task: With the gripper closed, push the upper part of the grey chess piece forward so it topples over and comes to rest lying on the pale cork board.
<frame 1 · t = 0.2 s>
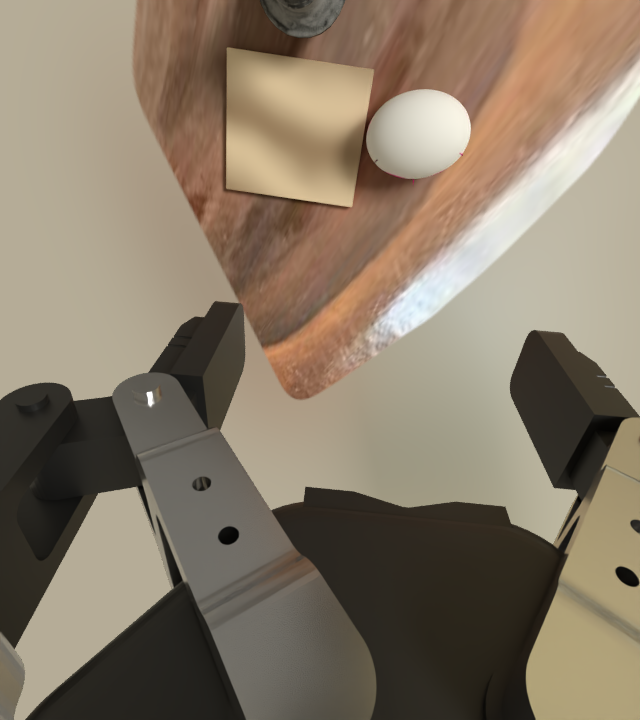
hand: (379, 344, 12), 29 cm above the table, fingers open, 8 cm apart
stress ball: (412, 140, 35), on the table
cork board: (295, 132, 35), on the table
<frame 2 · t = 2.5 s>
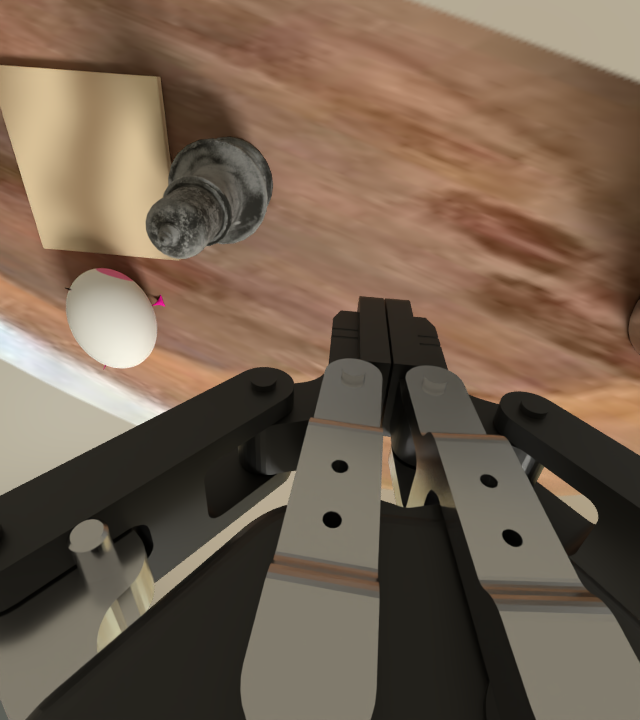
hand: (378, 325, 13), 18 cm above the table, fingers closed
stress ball: (125, 302, 34), on the table
grey chess piece: (233, 181, 28), on the table
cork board: (98, 170, 28), on the table
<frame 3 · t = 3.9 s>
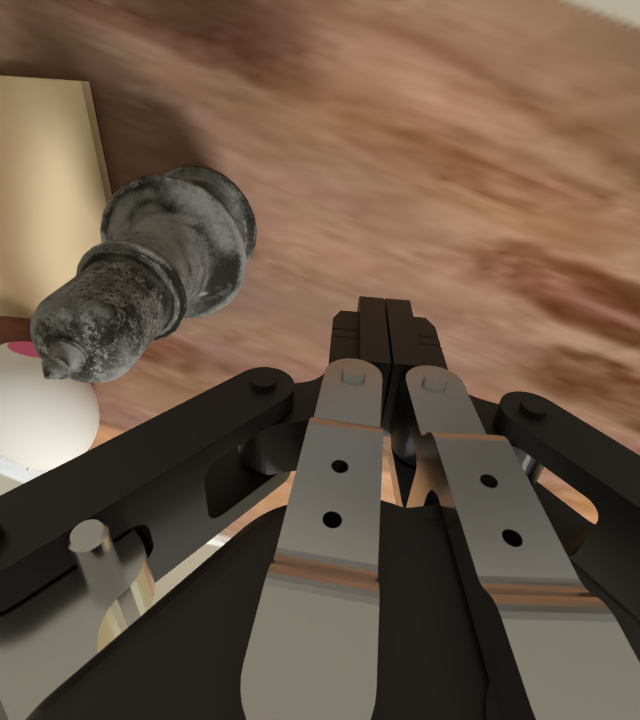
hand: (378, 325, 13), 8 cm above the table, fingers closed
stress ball: (60, 374, 26), on the table
grey chess piece: (202, 225, 20), on the table
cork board: (13, 211, 20), on the table
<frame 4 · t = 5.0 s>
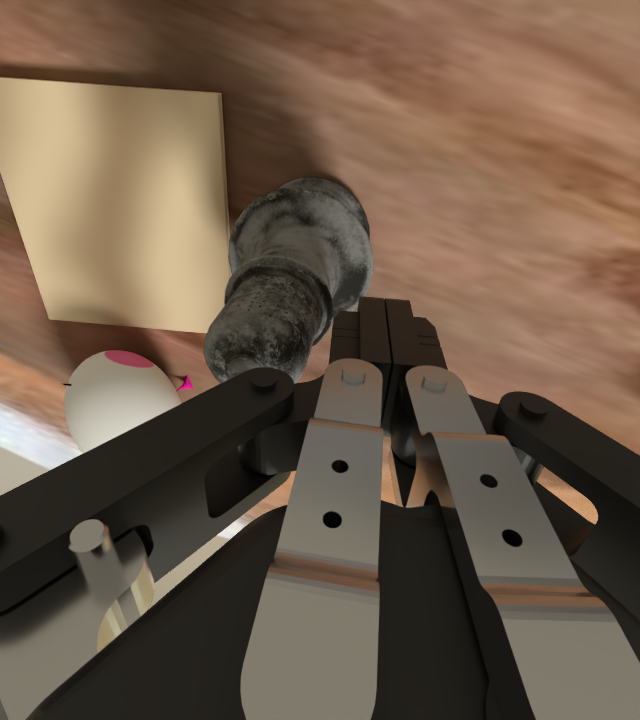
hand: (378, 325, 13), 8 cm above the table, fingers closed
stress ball: (140, 382, 26), on the table
grey chess piece: (313, 235, 20), on the table
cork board: (125, 220, 21), on the table
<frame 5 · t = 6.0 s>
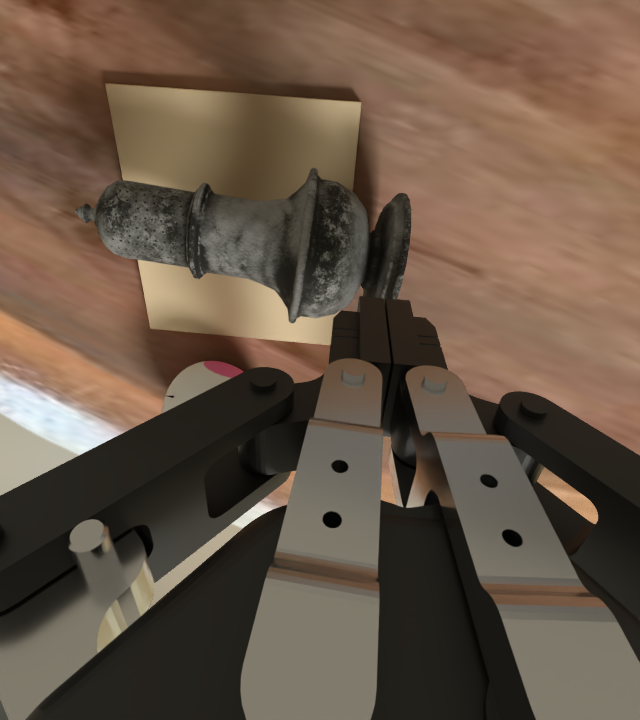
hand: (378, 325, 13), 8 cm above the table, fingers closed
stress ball: (224, 392, 26), on the table
grey chess piece: (393, 264, 17), point 3 cm above the table, touching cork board
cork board: (241, 230, 20), on the table
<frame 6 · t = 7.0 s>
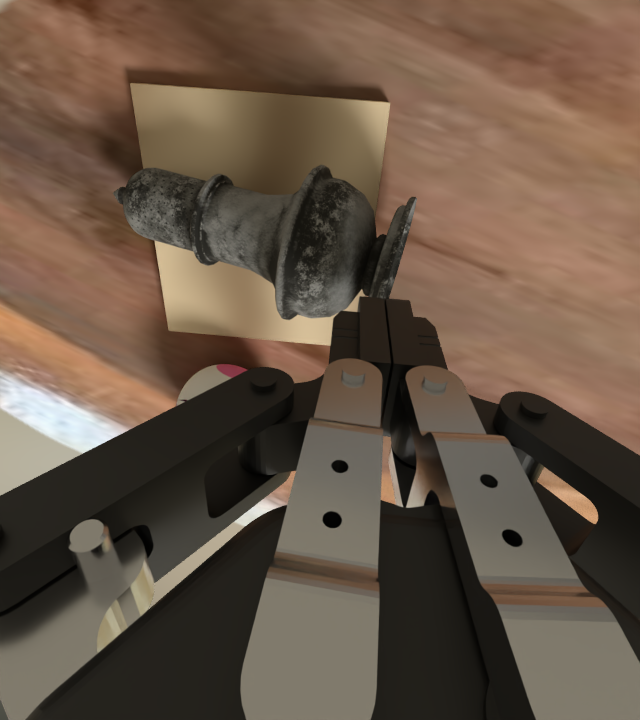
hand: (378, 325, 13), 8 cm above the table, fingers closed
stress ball: (235, 395, 26), on the table
grey chess piece: (399, 272, 16), point 4 cm above the table, touching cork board
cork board: (263, 231, 20), on the table
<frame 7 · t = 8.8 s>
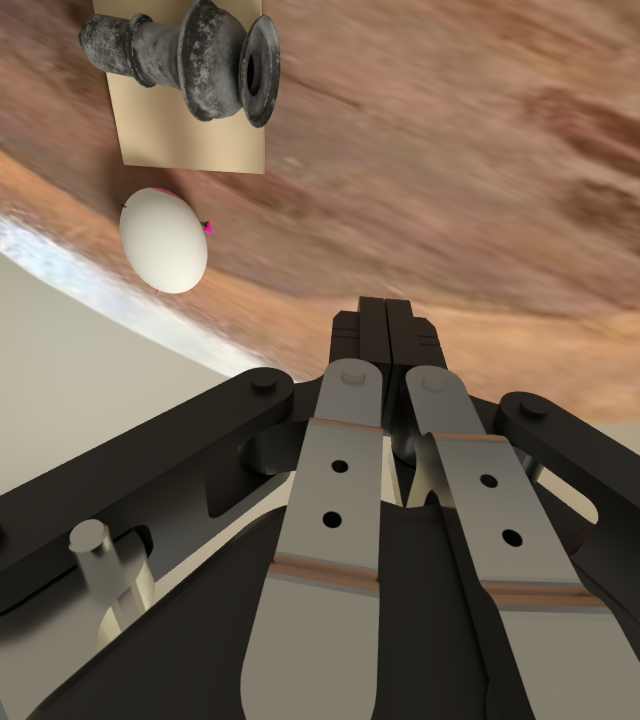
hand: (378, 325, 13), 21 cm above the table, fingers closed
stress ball: (171, 230, 34), on the table
grey chess piece: (266, 76, 24), point 4 cm above the table, touching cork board
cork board: (186, 76, 28), on the table
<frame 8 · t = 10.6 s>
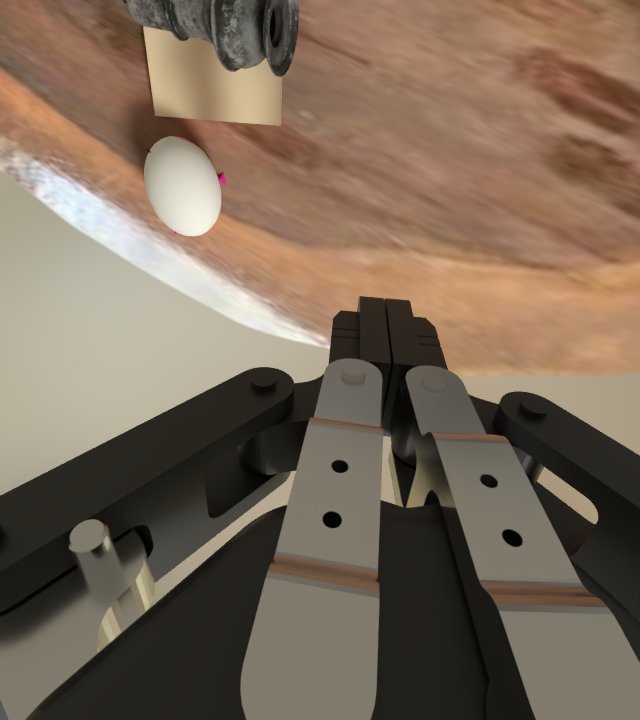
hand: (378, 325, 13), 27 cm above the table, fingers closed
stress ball: (189, 181, 38), on the table
grey chess piece: (286, 28, 27), point 4 cm above the table, touching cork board
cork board: (214, 34, 31), on the table
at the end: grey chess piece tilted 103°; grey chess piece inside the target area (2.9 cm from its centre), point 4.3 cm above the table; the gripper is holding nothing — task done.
